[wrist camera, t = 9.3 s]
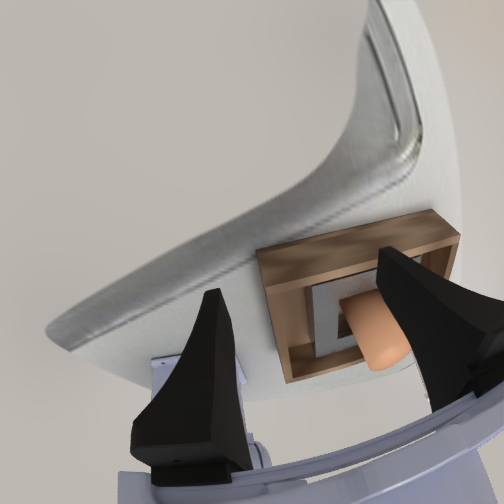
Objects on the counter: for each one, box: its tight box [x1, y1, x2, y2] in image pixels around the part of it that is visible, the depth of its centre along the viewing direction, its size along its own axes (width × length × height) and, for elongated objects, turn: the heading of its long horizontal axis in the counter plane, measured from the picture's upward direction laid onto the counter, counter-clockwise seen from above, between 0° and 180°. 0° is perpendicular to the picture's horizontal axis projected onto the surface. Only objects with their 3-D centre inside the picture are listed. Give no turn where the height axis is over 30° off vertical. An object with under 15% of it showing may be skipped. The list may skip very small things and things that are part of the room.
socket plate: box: [304, 255, 421, 358], centre depth 27 cm, size 10×10×3 cm
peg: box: [339, 288, 411, 371], centre depth 25 cm, size 4×4×8 cm
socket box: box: [256, 209, 461, 384], centre depth 27 cm, size 17×14×4 cm
